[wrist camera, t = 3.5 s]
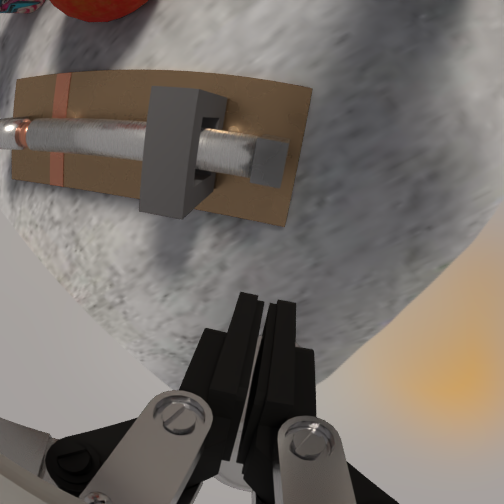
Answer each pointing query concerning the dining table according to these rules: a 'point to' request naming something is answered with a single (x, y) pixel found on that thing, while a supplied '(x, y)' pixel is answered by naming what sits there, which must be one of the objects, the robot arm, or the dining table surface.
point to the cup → (20, 6)
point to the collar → (177, 149)
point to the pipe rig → (134, 127)
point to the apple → (97, 8)
